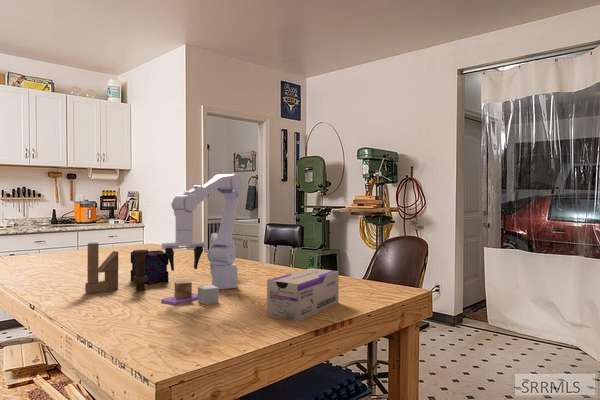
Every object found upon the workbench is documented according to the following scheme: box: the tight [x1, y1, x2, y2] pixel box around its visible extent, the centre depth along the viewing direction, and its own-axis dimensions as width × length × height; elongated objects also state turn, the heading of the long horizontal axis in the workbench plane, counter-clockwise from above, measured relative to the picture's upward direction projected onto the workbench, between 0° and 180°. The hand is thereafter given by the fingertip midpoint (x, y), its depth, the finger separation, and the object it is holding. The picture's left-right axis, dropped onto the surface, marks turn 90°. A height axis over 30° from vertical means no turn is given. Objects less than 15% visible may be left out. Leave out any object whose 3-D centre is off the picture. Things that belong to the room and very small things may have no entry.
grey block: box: [197, 284, 220, 306], centre depth 137 cm, size 5×5×5 cm
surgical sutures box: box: [266, 267, 340, 323], centre depth 129 cm, size 25×11×11 cm, turn 148°
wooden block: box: [84, 242, 119, 295], centre depth 153 cm, size 4×11×18 cm, turn 145°
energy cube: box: [130, 249, 170, 286], centre depth 171 cm, size 12×12×12 cm
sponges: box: [160, 292, 198, 306], centre depth 140 cm, size 7×13×2 cm, turn 147°
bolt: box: [131, 249, 150, 292], centre depth 153 cm, size 6×5×15 cm
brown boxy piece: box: [174, 279, 193, 299], centre depth 140 cm, size 5×5×5 cm
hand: (184, 269), depth 142 cm, fingers open, 7 cm apart
